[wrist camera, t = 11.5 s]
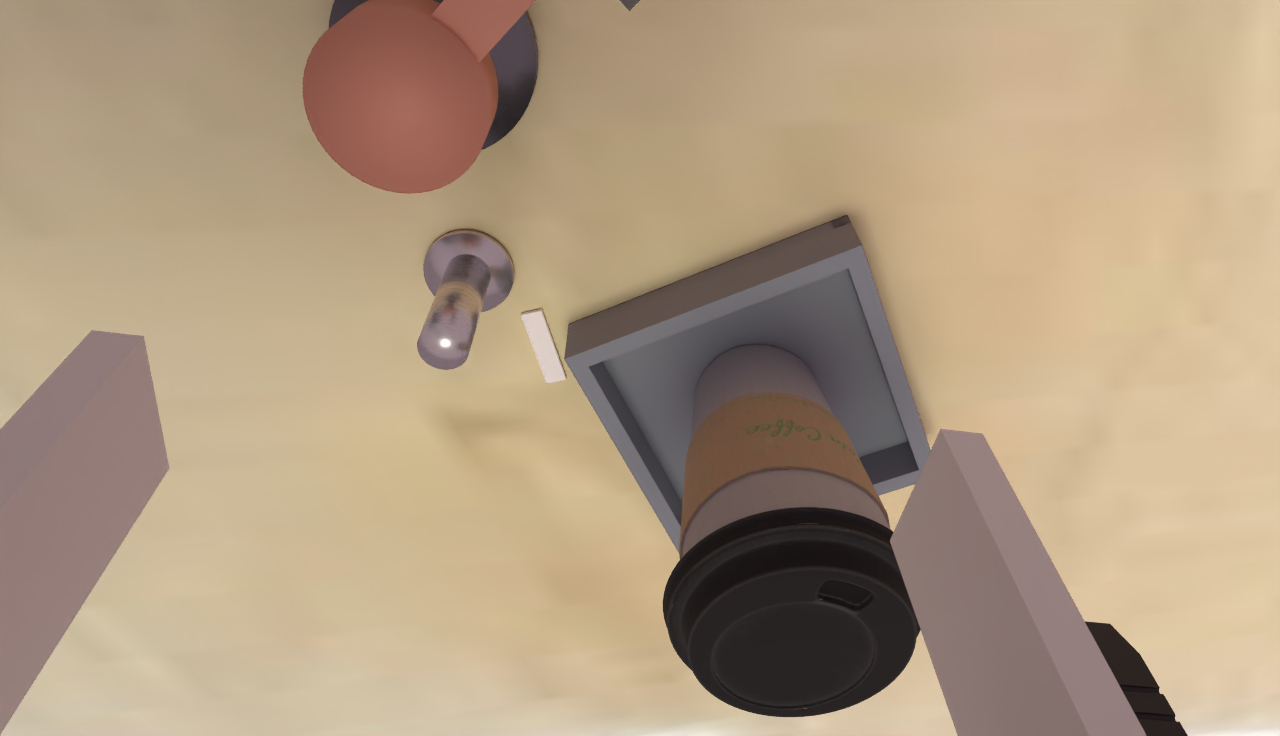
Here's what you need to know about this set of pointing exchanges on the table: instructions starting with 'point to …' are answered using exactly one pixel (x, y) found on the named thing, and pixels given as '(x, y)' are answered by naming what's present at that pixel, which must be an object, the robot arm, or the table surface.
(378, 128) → the crank
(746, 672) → the coffee cup
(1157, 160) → the table surface
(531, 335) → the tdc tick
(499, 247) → the peg
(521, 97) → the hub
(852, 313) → the tray
